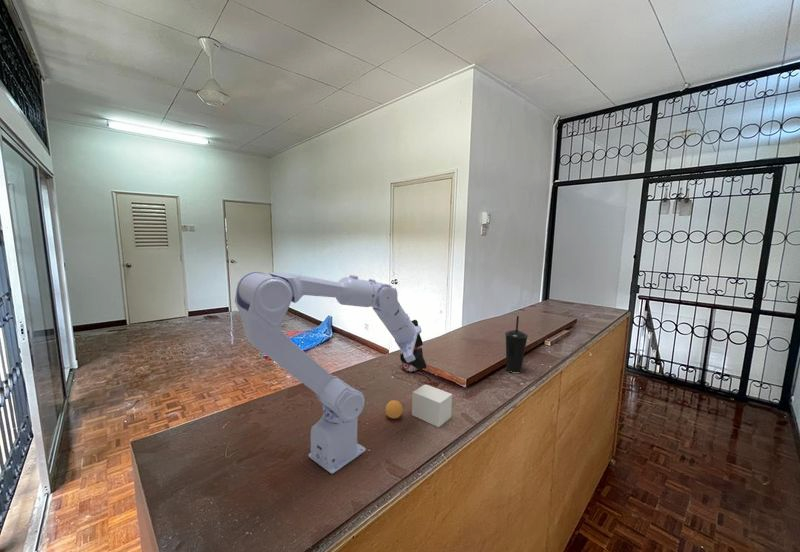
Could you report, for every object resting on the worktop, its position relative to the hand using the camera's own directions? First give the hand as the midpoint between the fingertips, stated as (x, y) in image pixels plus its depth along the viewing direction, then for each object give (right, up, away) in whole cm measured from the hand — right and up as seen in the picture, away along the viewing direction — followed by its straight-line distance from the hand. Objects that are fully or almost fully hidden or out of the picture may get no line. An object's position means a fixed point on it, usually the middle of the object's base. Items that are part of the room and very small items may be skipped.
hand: (421, 356), depth 83 cm
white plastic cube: (+3, -16, +1) cm, 16 cm away
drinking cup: (+35, -13, +31) cm, 49 cm away
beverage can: (-2, -12, +30) cm, 33 cm away
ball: (-7, -14, 0) cm, 15 cm away
